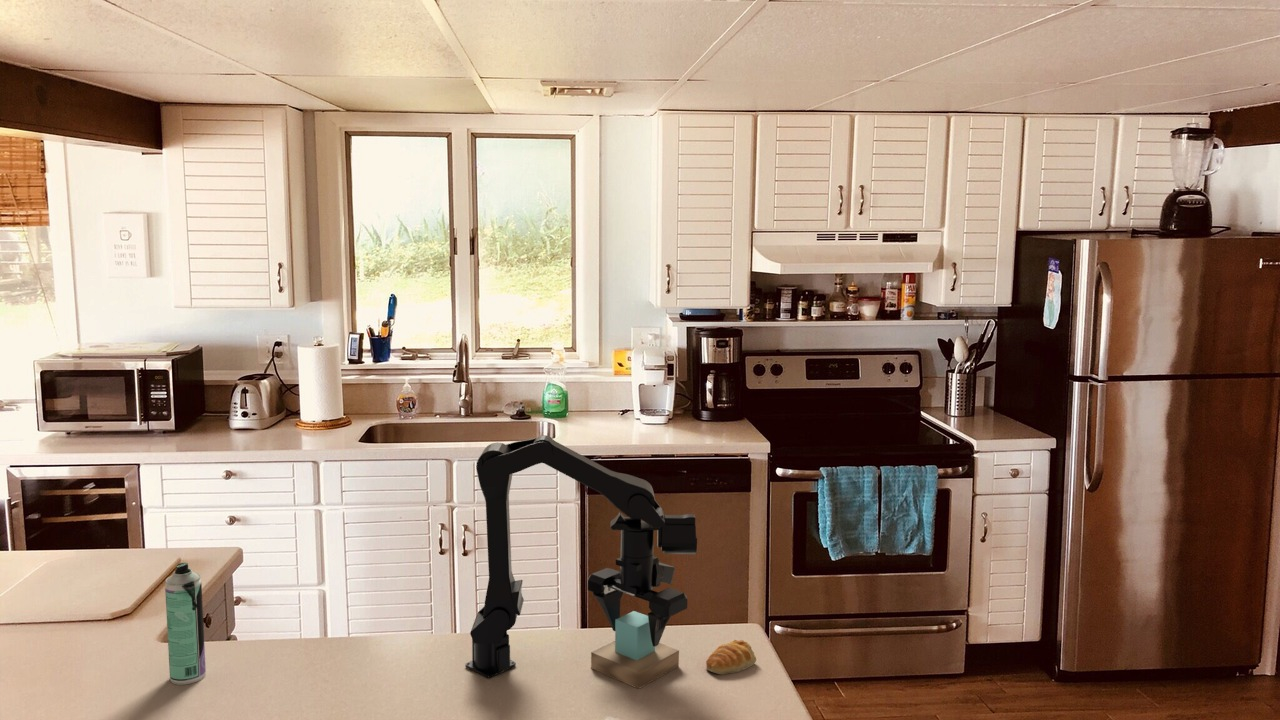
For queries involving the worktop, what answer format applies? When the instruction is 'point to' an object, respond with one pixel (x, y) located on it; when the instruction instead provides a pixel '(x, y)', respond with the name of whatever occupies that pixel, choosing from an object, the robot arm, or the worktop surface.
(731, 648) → the pastry
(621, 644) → the teal block
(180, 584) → the spray can
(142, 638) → the worktop surface
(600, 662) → the oak base
